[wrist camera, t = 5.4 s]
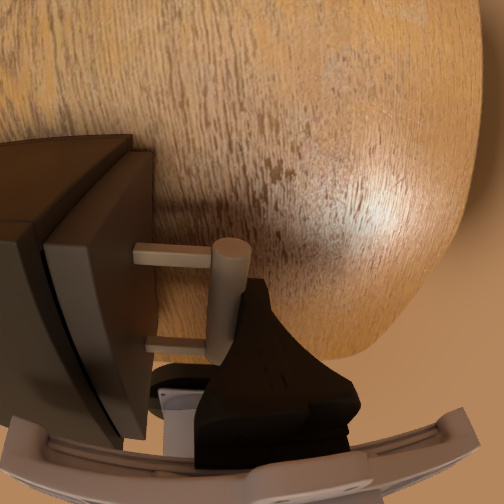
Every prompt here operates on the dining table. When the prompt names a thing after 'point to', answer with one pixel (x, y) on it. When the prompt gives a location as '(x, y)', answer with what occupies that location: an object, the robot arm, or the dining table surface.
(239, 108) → the dining table surface
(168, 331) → the dining table surface
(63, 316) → the open drawer with handle
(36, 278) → the dark grey drawer unit
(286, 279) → the dining table surface
